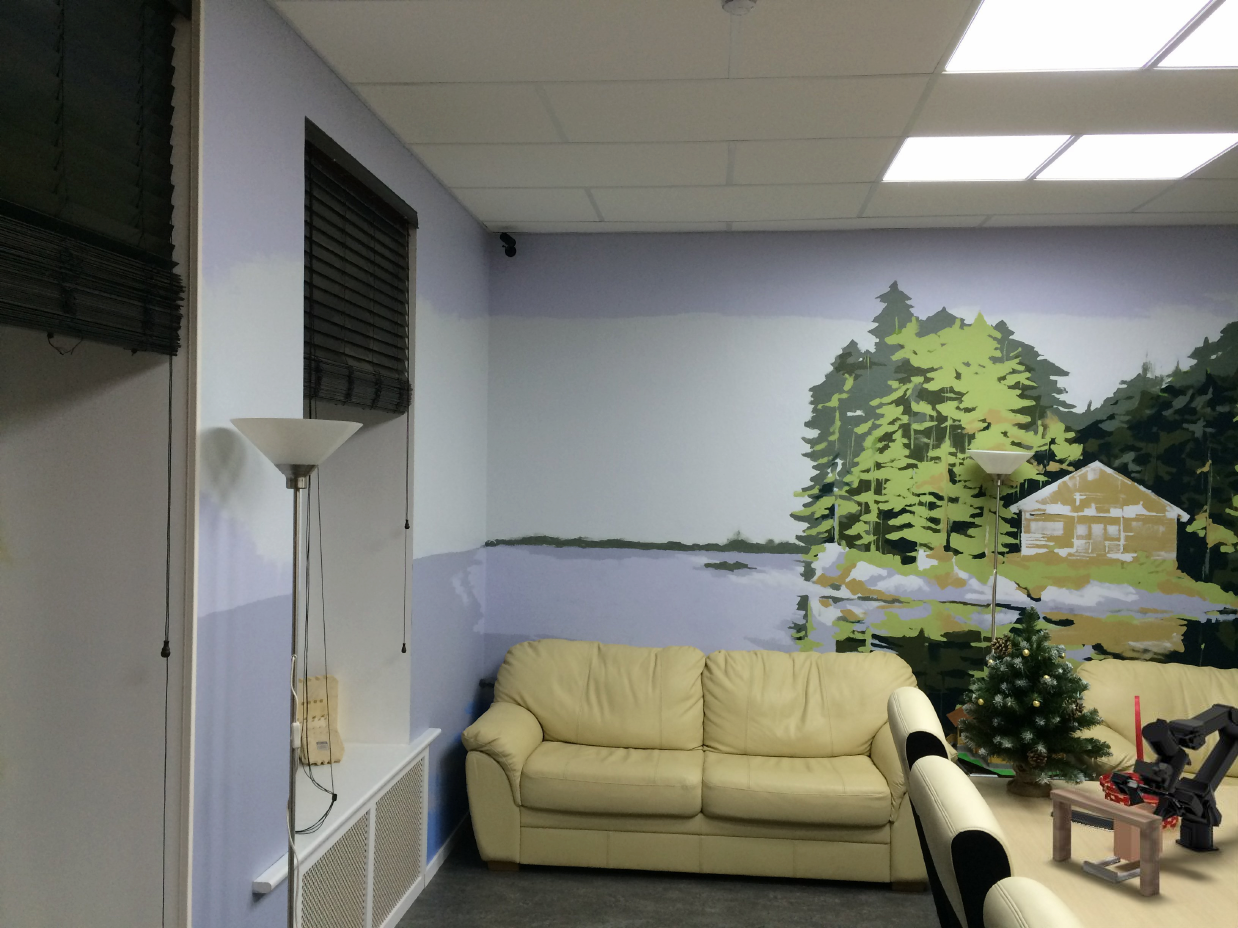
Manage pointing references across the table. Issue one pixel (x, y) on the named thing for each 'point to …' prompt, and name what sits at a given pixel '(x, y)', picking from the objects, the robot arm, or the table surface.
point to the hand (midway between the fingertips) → (1139, 823)
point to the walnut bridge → (1115, 811)
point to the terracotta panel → (1131, 836)
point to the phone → (1091, 819)
